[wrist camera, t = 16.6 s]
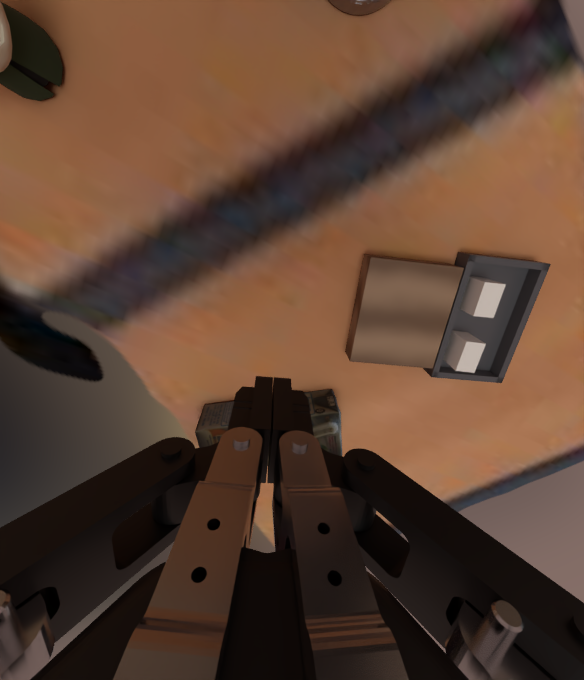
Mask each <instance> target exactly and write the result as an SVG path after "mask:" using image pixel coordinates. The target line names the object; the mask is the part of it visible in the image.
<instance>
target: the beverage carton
mask: <svg viewBox="0 0 584 680" xmlns="http://www.w3.org/2000/svg"><path fill="white" fill-rule="evenodd" d="M304 394H305V395H306V396H307V397H308V401H309V408H310V414H311V420H312V426H313V432H314V437H316V438H317V440H318V441H319V443H320V446H321V448H323V449H324V450H326V451H328V452H330V453H332V454H336V455H339V456H342V440H341V413H340V410H339V407H338V405H337V400H336V397H335V395H334V392H333V390H332V389H329V390H320V391H312V392H304ZM233 404H234V401H231V402H224V403H215V404H208V405H204V407H203V410H202V413H201V416H200V418H199V421H198V424H197V428H196V431H195V433H196V437H197V440H198V444H199V447H200V448H201V447H207V446H210V445H213V444H215V443H217V442H219V441H220V438H221V436H222V435H223V434H224V433H225V432H226V431H227V430H228V425H229V421H230V417H231V413H232V408H233ZM268 457H269V454H268ZM267 466H268V464H267Z"/></svg>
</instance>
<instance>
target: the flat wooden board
mask: <svg viewBox="0 0 584 680" xmlns="http://www.w3.org/2000/svg"><path fill="white" fill-rule="evenodd" d="M463 270H464V268H463V267H459V266H456V265H452V264H446V263H437V262H428V261H420V260H411V259H402V258H393V257H385V256H376V255H367V254H364V258H363V263H362V268H361V273H360V279H359V284H358V289H357V294H356V299H355V304H354V310H353V315H352V320H351V325H350V330H349V336H348V341H347V346H346V351H345V352H346V354H347V356H348V358H349V360H350V361H352V362H364V363H375V364H387V365H398V366H410V367H421V368H433V366H434V362H435V359H436V356H437V353H438V350H439V346H440V343H441V340H442V337H443V334H444V330H445V327H446V324H447V321H448V318H449V314H450V311H451V308H452V305H453V302H454V298H455V295H456V292H457V289H458V286H459V282H460V279H461V276H462V273H463Z"/></svg>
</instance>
